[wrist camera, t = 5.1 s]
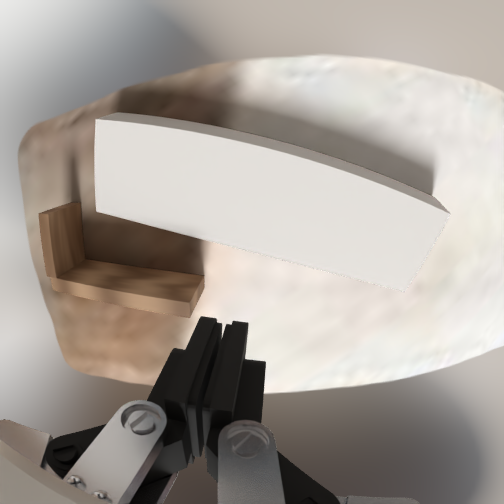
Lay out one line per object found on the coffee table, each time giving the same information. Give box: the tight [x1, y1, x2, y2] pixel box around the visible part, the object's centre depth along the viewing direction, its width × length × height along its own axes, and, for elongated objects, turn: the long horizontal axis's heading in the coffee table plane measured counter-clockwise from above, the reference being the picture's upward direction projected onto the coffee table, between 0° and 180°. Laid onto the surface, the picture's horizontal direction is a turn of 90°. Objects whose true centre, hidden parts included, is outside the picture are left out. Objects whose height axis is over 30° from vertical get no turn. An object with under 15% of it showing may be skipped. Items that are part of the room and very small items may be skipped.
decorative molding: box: [95, 112, 451, 292], centre depth 26 cm, size 34×5×10 cm
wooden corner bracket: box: [39, 202, 204, 318], centre depth 27 cm, size 17×9×6 cm, turn 85°
